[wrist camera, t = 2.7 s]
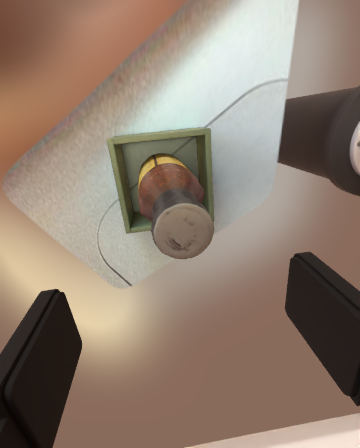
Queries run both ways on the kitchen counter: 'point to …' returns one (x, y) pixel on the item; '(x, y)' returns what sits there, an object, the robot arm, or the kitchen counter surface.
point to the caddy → (203, 135)
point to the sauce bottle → (174, 207)
